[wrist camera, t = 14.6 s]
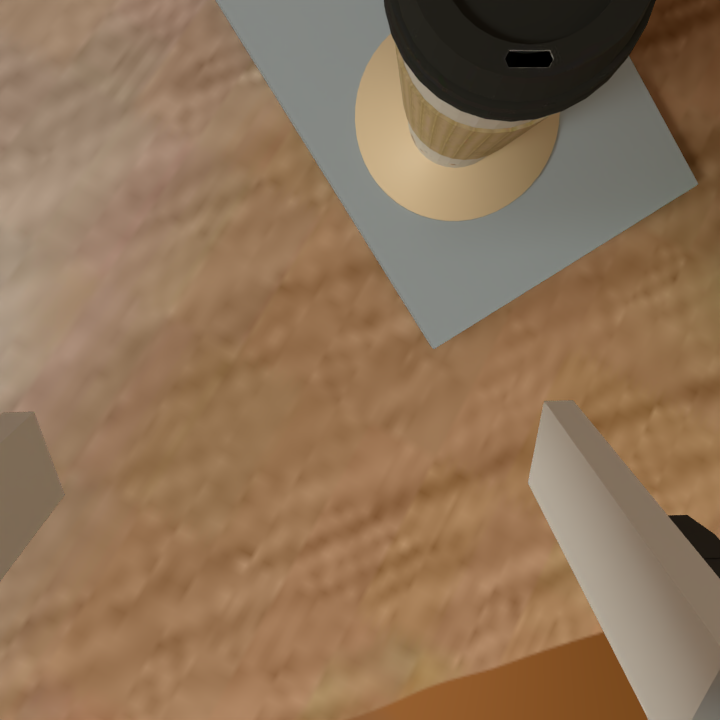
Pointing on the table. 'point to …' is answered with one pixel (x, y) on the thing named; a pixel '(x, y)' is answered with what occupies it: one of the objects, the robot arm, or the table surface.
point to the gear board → (464, 184)
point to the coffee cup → (502, 65)
